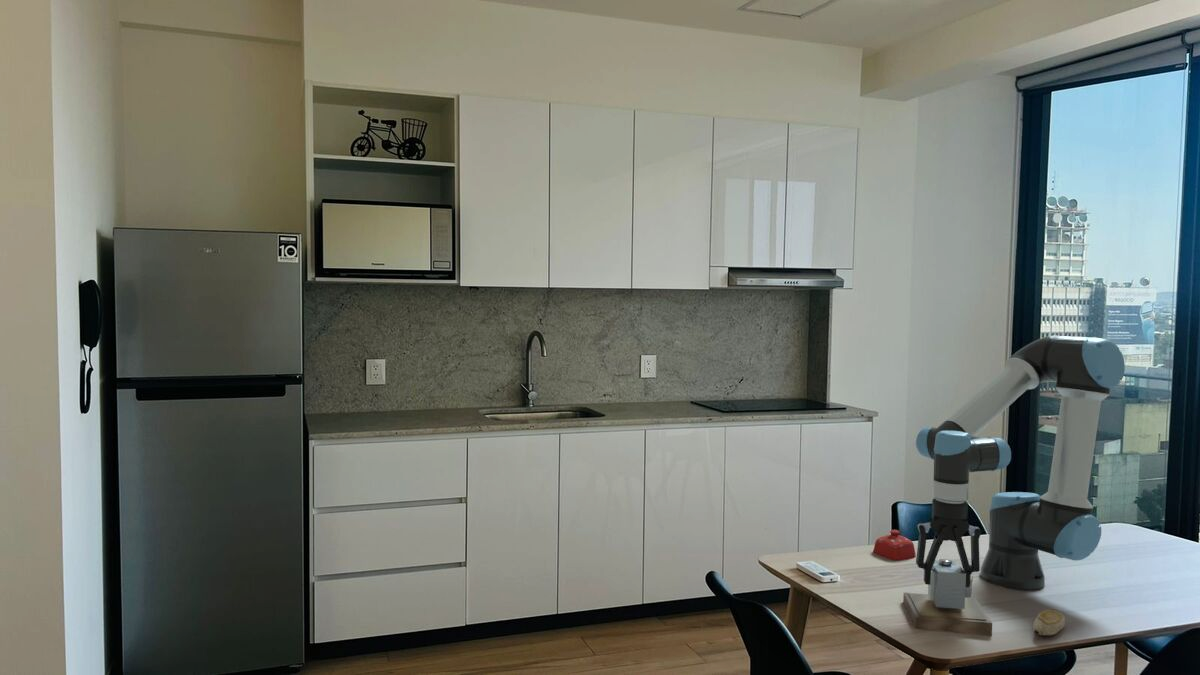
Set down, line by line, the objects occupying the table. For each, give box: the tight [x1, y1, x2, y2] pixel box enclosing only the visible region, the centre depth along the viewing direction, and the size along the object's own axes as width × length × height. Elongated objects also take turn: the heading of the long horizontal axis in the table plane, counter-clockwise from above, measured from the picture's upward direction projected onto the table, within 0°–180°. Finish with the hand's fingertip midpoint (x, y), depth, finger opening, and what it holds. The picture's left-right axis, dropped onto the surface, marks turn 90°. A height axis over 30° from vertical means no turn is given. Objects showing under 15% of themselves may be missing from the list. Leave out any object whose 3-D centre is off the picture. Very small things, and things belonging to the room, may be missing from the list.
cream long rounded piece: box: [1032, 608, 1066, 637], centre depth 195 cm, size 5×14×4 cm, turn 137°
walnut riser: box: [902, 592, 993, 637], centre depth 202 cm, size 16×16×3 cm
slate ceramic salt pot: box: [965, 574, 974, 598], centre depth 213 cm, size 5×5×7 cm
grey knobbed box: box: [932, 558, 966, 609], centre depth 201 cm, size 9×6×9 cm, turn 170°
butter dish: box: [872, 529, 917, 562], centre depth 247 cm, size 12×12×8 cm
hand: (946, 599), depth 201 cm, fingers closed on grey knobbed box, 6 cm apart
